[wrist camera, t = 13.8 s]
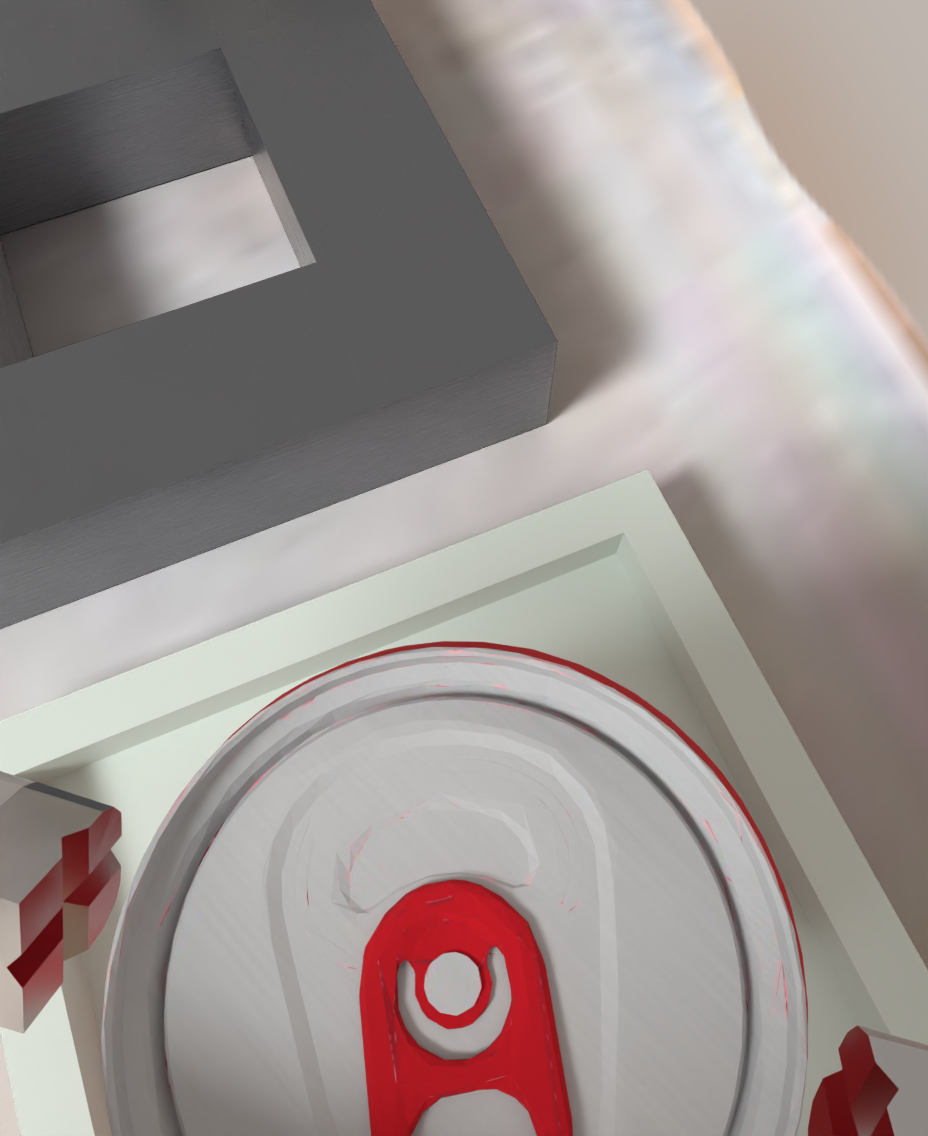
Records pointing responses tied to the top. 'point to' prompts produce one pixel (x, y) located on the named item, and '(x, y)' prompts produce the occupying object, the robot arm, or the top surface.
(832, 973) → the tray
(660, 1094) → the beverage can
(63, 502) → the frame
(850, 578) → the top surface
